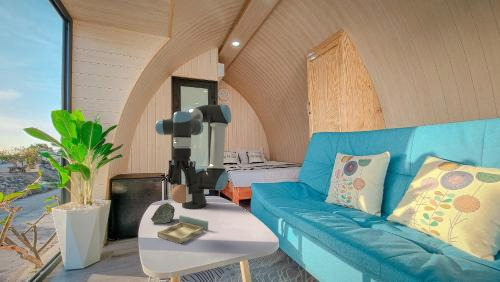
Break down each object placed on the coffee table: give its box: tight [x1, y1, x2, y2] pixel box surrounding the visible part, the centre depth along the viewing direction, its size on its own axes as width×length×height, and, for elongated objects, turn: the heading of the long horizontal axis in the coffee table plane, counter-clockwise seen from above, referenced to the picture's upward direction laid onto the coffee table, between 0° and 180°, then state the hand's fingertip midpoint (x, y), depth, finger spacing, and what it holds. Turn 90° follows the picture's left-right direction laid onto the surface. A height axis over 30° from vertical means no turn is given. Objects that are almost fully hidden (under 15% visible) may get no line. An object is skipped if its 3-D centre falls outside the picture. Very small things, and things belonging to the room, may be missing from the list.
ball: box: [172, 183, 187, 204], centre depth 94 cm, size 8×8×8 cm
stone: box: [150, 202, 176, 224], centre depth 110 cm, size 10×10×10 cm
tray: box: [157, 222, 204, 245], centre depth 94 cm, size 13×13×2 cm
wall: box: [178, 214, 209, 232], centre depth 102 cm, size 1×17×4 cm, turn 62°
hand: (181, 200), depth 94 cm, fingers closed on ball, 8 cm apart
